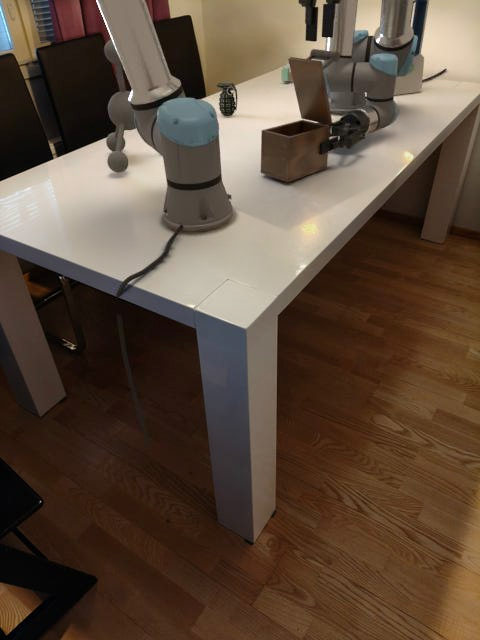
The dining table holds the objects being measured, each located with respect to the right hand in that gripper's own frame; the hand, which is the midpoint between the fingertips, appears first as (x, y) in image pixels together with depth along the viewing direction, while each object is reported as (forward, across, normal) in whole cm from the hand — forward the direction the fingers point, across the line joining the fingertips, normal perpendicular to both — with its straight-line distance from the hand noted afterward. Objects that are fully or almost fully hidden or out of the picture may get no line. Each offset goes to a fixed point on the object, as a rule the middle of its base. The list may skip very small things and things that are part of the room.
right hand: (305, 144), depth 124 cm
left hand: (-4, 0, +23) cm, 24 cm away
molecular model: (+23, +40, -6) cm, 47 cm away
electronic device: (-82, +22, -6) cm, 85 cm away
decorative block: (-80, +66, -6) cm, 104 cm away
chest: (+4, 0, -6) cm, 7 cm away
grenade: (-21, +52, -6) cm, 56 cm away
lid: (-1, 0, +12) cm, 12 cm away
